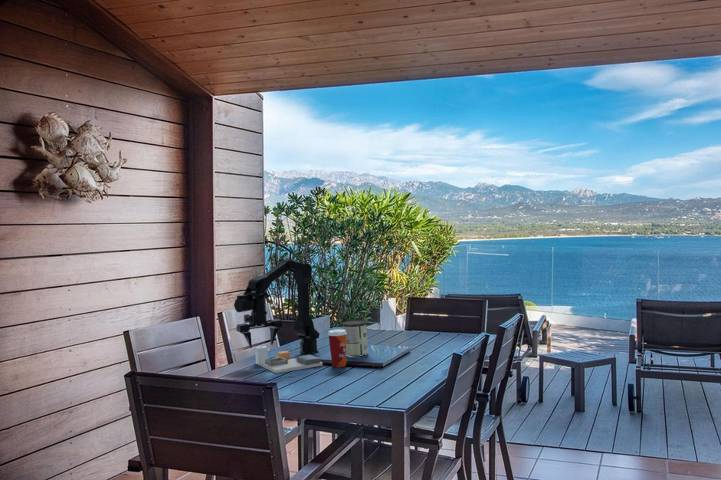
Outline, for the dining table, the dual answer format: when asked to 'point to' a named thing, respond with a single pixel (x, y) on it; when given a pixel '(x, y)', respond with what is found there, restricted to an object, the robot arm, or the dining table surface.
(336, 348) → the paper cup
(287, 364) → the board
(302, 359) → the grey piece
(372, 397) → the dining table surface
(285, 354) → the cable plug
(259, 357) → the block
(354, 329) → the coffee can
